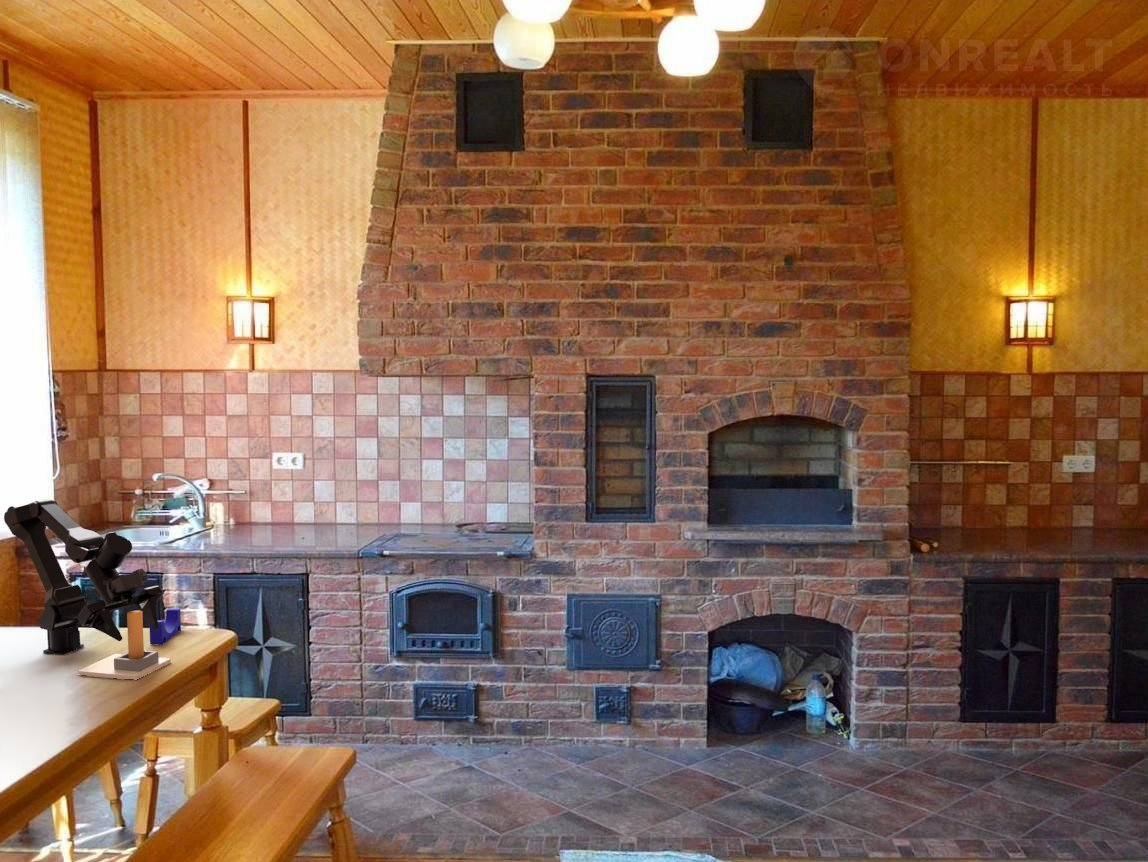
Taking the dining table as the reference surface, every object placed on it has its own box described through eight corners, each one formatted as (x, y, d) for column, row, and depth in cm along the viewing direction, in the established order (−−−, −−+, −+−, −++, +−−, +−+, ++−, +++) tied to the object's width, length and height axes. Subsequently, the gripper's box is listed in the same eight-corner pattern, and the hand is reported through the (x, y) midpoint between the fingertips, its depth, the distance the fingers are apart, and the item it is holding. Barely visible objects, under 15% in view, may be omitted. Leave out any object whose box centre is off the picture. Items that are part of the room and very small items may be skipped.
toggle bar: (126, 668, 211) (124, 614, 210) (131, 663, 214) (129, 610, 213) (141, 667, 212) (139, 614, 211) (146, 662, 215) (144, 610, 214)
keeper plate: (78, 675, 210) (77, 660, 209) (115, 657, 221) (114, 643, 221) (136, 680, 206) (135, 665, 206) (170, 662, 218) (170, 648, 218)
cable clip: (163, 630, 243) (162, 608, 242) (181, 630, 243) (180, 608, 242) (144, 645, 231) (143, 622, 230) (162, 645, 231) (161, 622, 230)
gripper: (83, 568, 205) (116, 624, 200) (157, 552, 221) (189, 603, 217) (63, 598, 209) (95, 654, 205) (137, 580, 225) (168, 631, 221)
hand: (139, 634), depth 212 cm, fingers open, 9 cm apart
